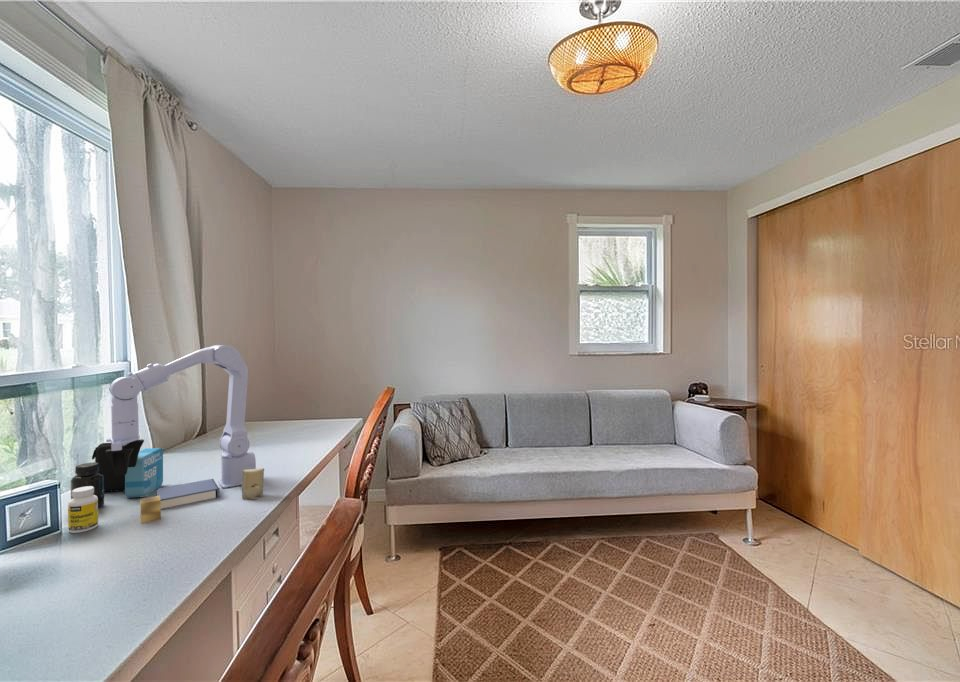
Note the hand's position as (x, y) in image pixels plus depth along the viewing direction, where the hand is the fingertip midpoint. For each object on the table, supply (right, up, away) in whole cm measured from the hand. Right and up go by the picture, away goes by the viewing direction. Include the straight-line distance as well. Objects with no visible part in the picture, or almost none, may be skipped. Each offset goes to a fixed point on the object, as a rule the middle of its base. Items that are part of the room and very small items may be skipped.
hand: (126, 470), depth 121 cm
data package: (-4, -10, +12) cm, 16 cm away
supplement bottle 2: (0, -10, -13) cm, 17 cm away
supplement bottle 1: (-10, -10, -1) cm, 14 cm away
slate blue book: (+12, -10, +7) cm, 17 cm away
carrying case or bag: (-14, -10, +12) cm, 21 cm away
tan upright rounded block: (+31, -10, +7) cm, 34 cm away
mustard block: (+12, -10, -8) cm, 18 cm away
